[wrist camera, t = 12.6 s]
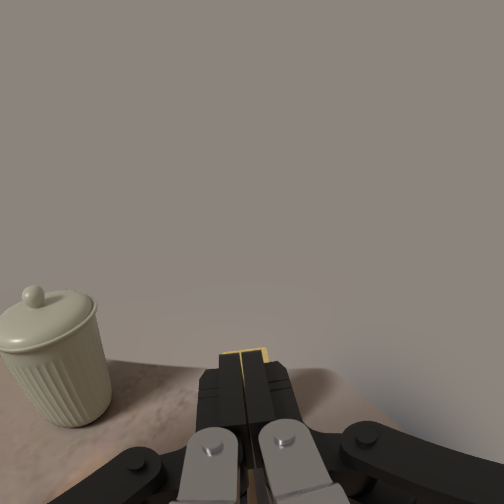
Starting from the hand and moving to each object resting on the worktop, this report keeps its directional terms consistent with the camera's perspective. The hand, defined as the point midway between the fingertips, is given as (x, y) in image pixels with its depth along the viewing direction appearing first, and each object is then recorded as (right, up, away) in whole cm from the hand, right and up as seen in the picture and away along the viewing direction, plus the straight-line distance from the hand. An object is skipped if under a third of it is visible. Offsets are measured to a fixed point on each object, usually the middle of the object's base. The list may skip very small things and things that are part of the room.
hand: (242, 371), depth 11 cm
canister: (-27, -21, +29) cm, 45 cm away
